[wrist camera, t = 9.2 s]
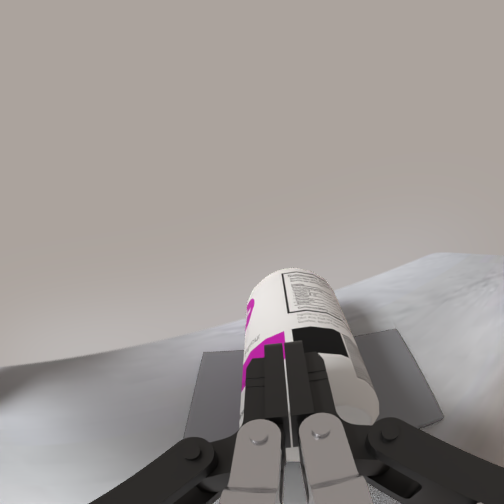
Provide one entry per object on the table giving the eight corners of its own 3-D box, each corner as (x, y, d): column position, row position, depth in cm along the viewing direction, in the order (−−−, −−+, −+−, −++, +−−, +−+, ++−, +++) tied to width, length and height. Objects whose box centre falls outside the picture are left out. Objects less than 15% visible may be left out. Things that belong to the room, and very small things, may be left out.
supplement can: (213, 416, 12) (235, 276, 26) (264, 472, 15) (263, 341, 29) (381, 375, 11) (321, 249, 24) (381, 444, 13) (338, 320, 27)
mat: (181, 456, 16) (179, 453, 16) (204, 354, 27) (203, 352, 27) (442, 419, 14) (443, 416, 14) (395, 331, 26) (395, 328, 25)
